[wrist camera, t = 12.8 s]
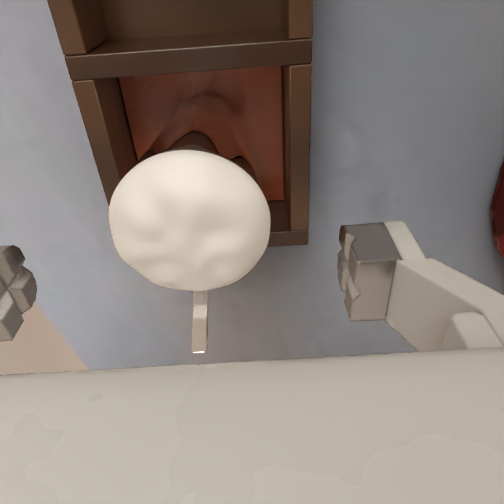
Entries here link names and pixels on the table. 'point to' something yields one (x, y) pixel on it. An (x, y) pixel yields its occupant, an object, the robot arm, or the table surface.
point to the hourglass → (498, 214)
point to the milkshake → (193, 206)
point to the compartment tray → (197, 84)
